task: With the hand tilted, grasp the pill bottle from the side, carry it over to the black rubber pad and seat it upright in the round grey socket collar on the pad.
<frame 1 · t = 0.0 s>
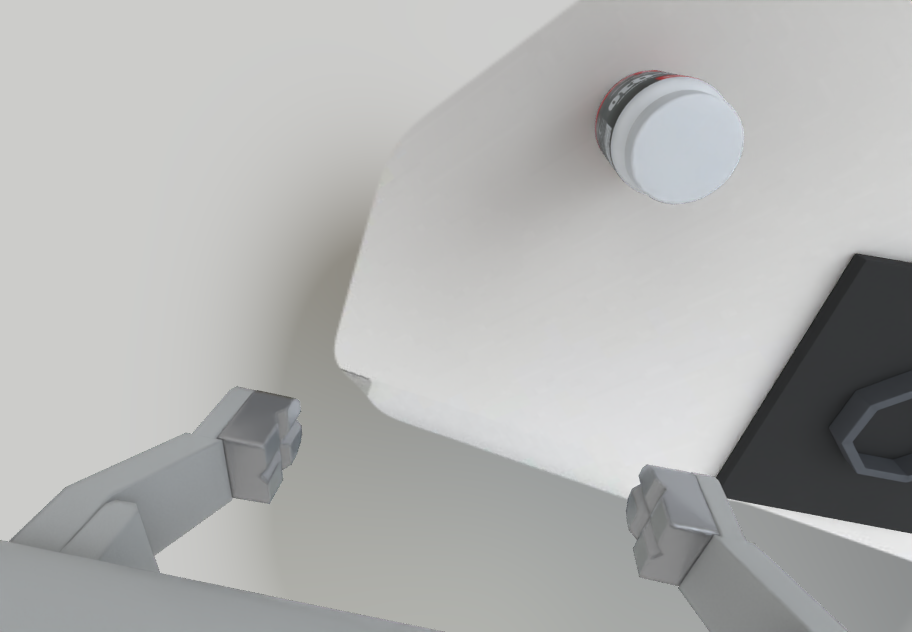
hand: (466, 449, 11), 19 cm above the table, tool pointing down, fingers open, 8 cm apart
socket pad: (891, 409, 31), on the table
pill bottle: (638, 120, 25), on the table
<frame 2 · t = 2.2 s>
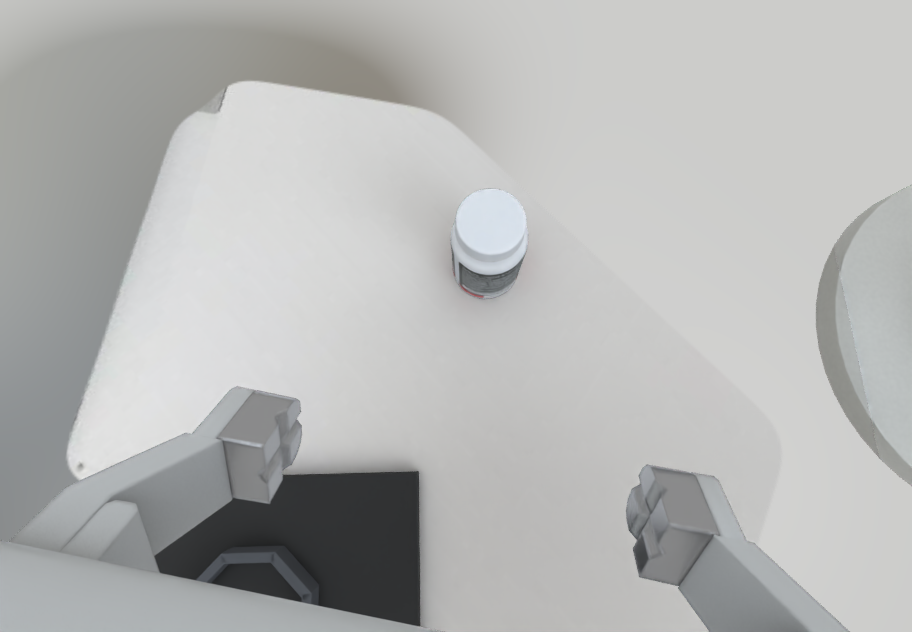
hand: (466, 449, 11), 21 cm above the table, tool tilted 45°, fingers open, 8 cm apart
socket pad: (261, 608, 29), on the table
pill bottle: (485, 269, 34), on the table
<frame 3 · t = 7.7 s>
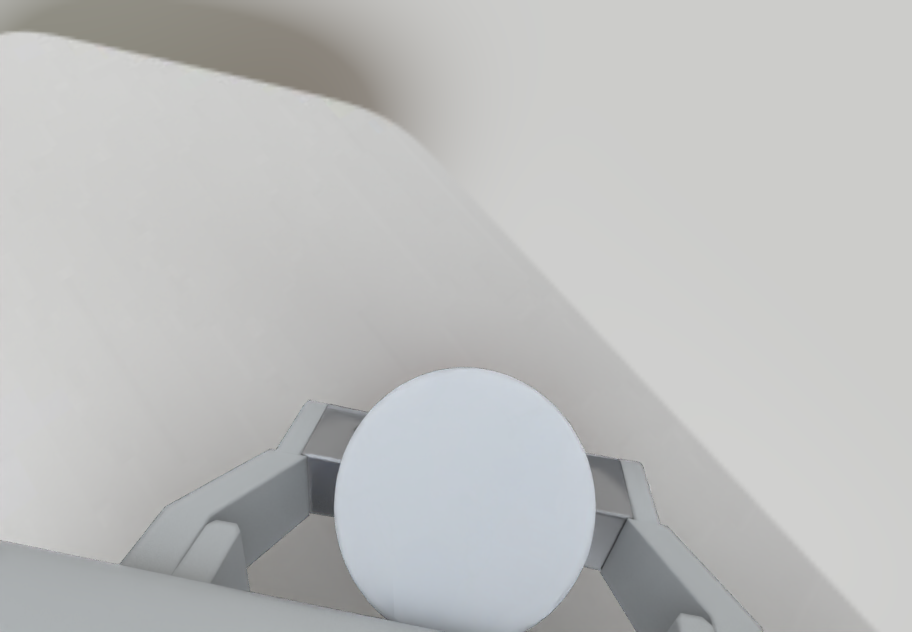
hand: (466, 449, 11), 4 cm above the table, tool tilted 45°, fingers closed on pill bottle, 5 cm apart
pill bottle: (459, 465, 15), on the table, touching gripper
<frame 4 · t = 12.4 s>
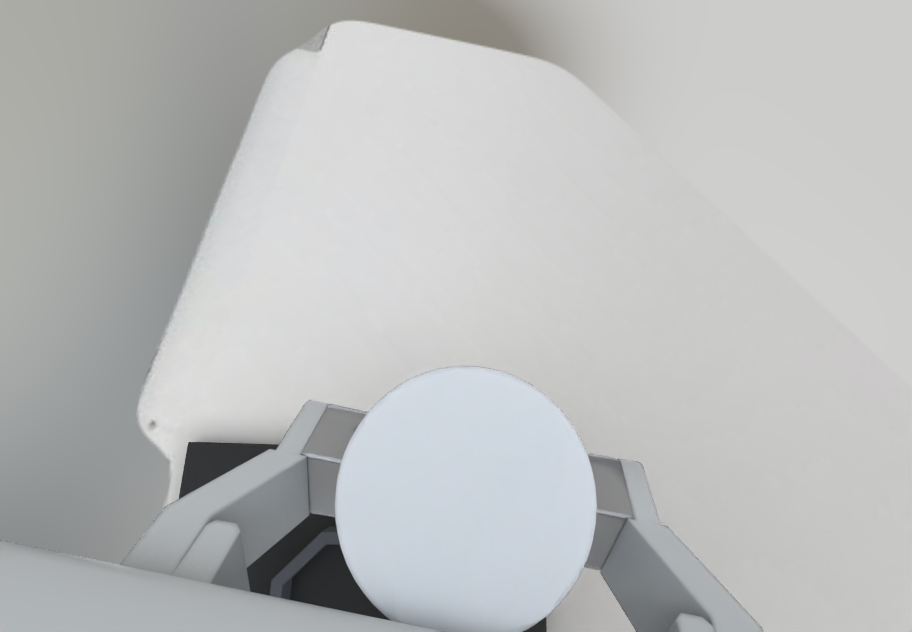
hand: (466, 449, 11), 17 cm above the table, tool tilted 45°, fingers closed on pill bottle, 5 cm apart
socket pad: (357, 601, 25), on the table
pill bottle: (460, 464, 15), point 12 cm above the table, touching gripper
when the fingers open (5 cm above the table, at t = 17.1 s): pill bottle stays where it is, resting on socket pad.
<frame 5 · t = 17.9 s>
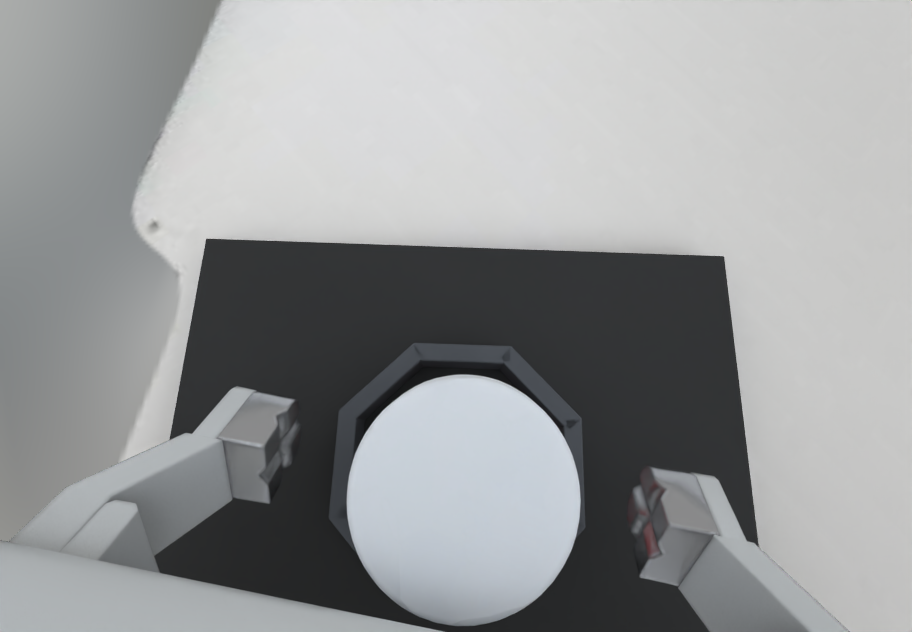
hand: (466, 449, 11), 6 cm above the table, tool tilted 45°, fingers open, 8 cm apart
socket pad: (457, 462, 17), on the table
pill bottle: (460, 465, 16), point 1 cm above the table, touching socket pad
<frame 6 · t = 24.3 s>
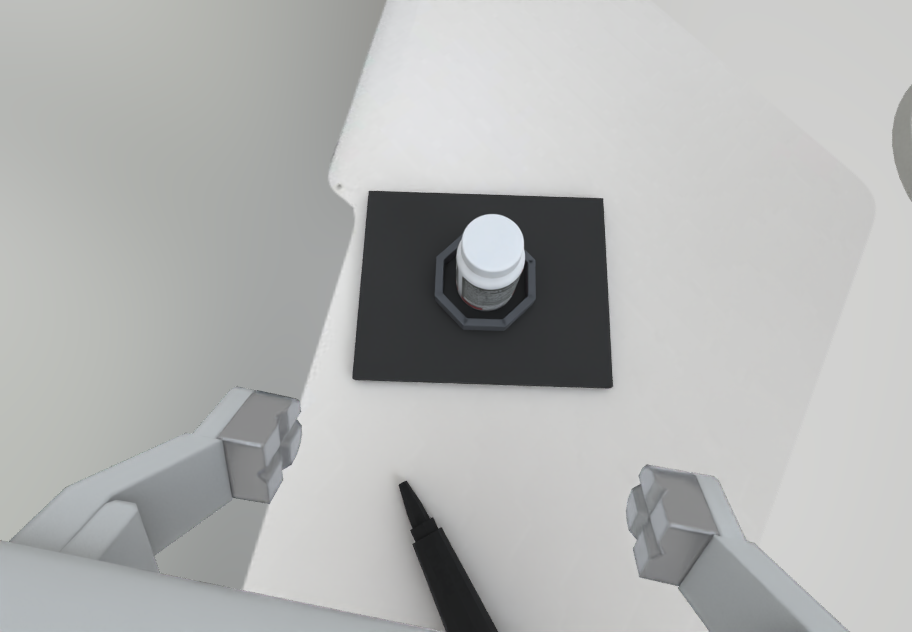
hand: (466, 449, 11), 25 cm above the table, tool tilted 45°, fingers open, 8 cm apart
socket pad: (483, 287, 39), on the table
microphone: (477, 612, 33), on the table
pill bottle: (485, 284, 38), point 1 cm above the table, touching socket pad
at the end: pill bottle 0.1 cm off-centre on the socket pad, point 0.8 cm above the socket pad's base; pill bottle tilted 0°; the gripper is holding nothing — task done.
